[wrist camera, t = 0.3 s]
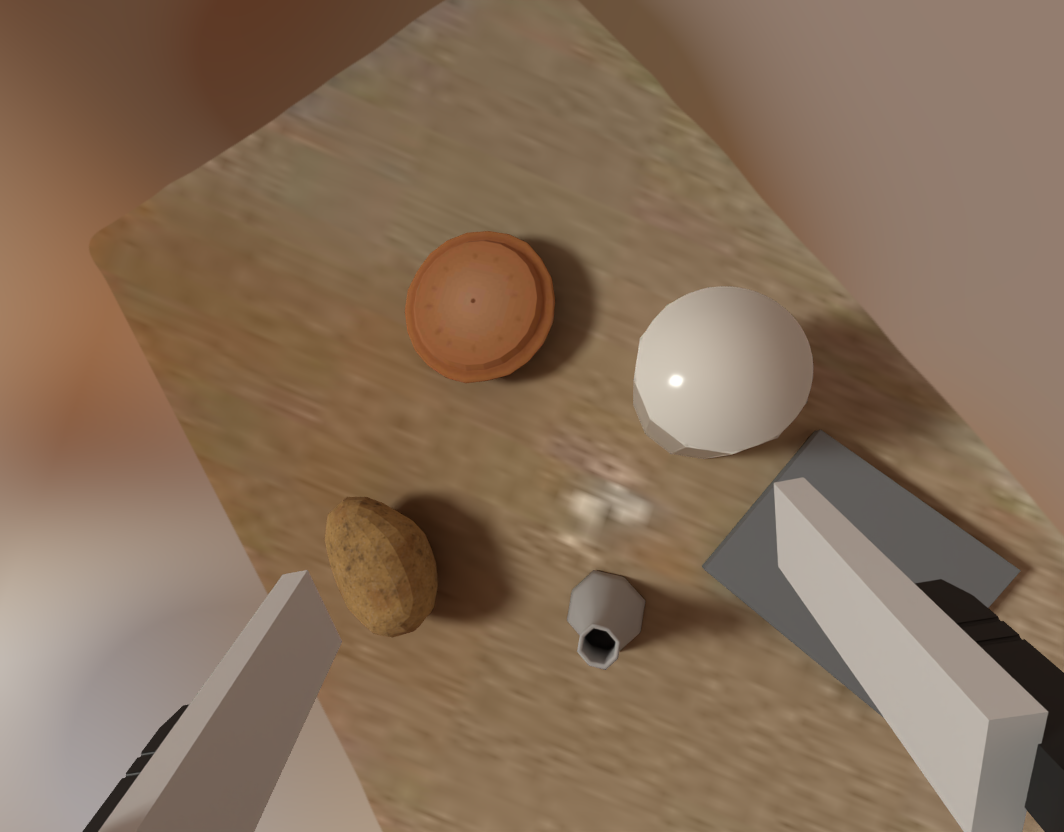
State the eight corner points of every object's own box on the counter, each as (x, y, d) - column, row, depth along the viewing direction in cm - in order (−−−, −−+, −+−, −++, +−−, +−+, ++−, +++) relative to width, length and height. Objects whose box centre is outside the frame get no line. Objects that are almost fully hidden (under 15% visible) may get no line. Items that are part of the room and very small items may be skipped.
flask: (658, 596, 46) (665, 631, 36) (622, 665, 46) (619, 718, 36) (589, 556, 48) (578, 578, 38) (554, 622, 48) (534, 661, 38)
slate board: (1006, 567, 41) (1020, 570, 39) (879, 713, 41) (888, 721, 40) (814, 430, 45) (820, 429, 43) (701, 566, 45) (704, 569, 44)
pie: (394, 302, 55) (371, 286, 50) (508, 218, 53) (496, 193, 48) (465, 416, 52) (448, 411, 47) (588, 331, 50) (584, 316, 45)
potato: (404, 471, 52) (363, 472, 44) (474, 588, 49) (445, 610, 42) (333, 523, 53) (282, 532, 45) (398, 640, 50) (356, 671, 43)
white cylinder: (784, 387, 46) (852, 350, 31) (706, 481, 46) (738, 487, 32) (684, 318, 48) (705, 254, 34) (611, 408, 49) (602, 382, 34)
